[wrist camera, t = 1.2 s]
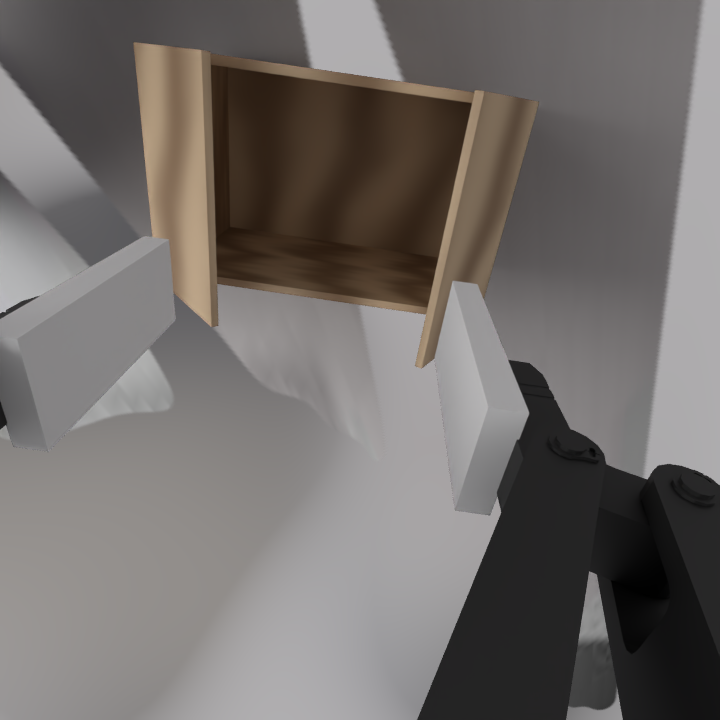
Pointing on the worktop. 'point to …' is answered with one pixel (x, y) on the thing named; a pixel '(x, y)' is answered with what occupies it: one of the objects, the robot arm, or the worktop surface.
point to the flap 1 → (181, 166)
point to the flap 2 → (478, 202)
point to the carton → (332, 181)
